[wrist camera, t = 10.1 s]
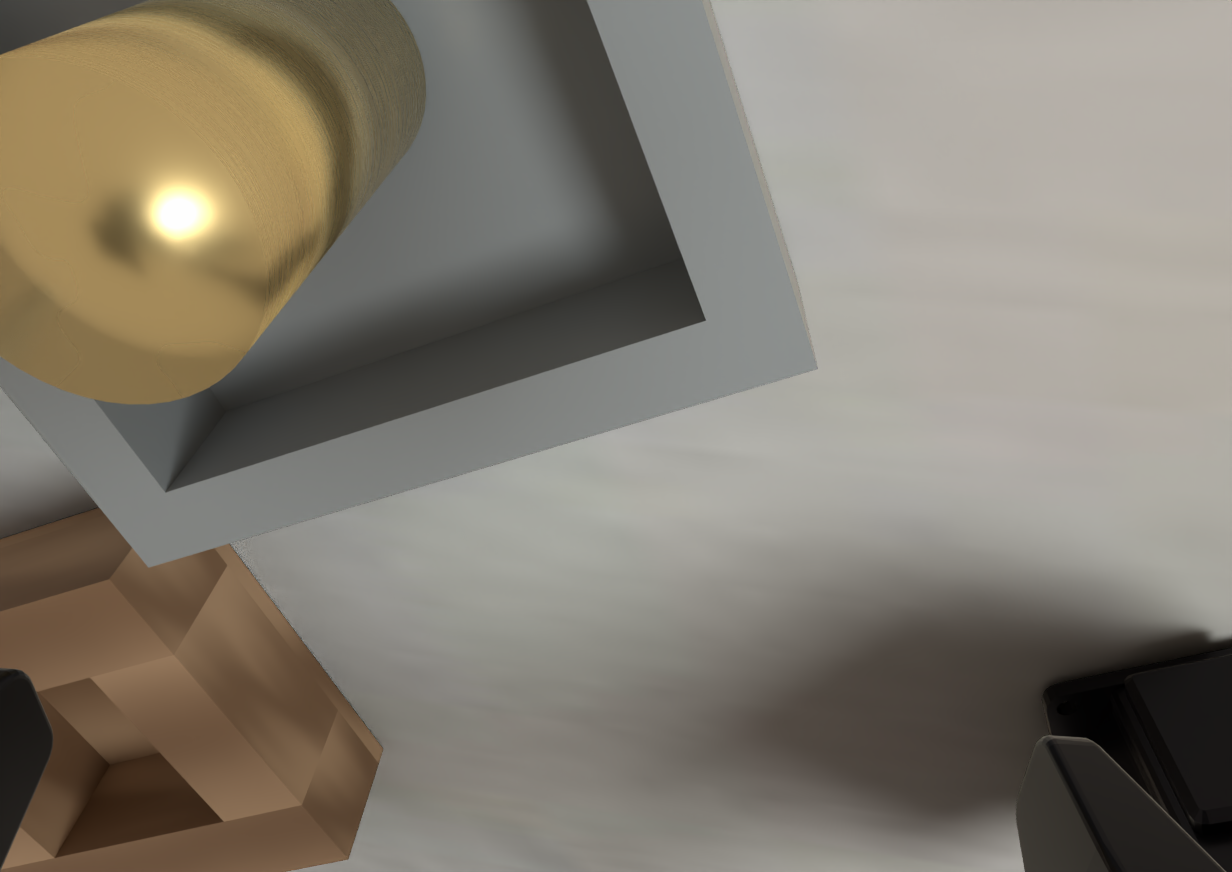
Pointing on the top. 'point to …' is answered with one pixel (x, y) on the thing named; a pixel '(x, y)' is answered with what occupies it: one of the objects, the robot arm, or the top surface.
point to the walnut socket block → (173, 713)
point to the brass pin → (187, 180)
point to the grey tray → (473, 281)
